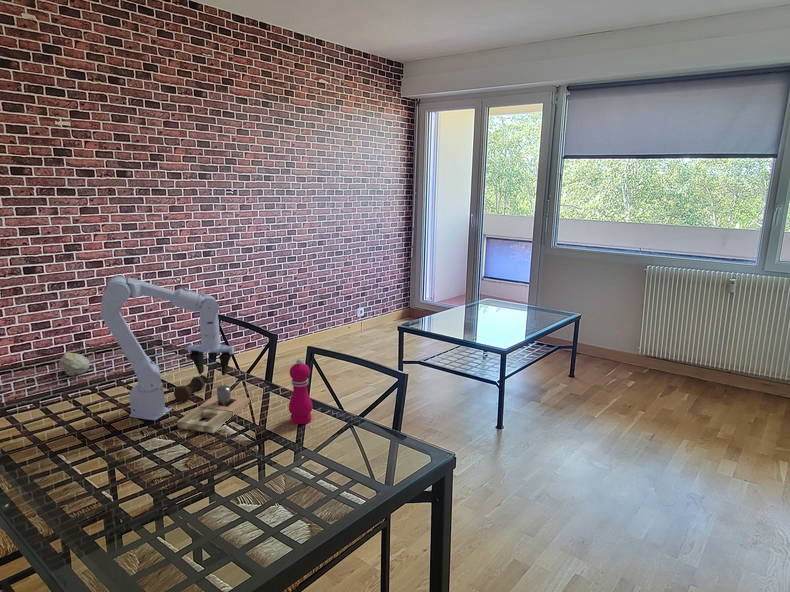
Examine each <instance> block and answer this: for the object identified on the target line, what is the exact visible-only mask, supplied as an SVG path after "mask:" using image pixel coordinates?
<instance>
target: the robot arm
mask: <svg viewBox="0 0 790 592" xmlns="http://www.w3.org/2000/svg"><path fill="white" fill-rule="evenodd" d="M131 295H132V299H136V298H139V297H141V296H147V297H150V298H155V299H160V300H164V301H169V302H171V303H172V305H173V306H174V307H175V308H179V309H183V310H186V311H189V312H190V311H191V312H196V313H197V312H199V333H200V334H199V336H200V344H189V345H187V353H189V358H190V359H191V361H193V363H194V365H195V367H196V370H197V372H198V375H202V374H203V373H204V371H205V369H204V368H205V367H204V354H209V353H211V354H212V353H213V354H214V353H215V354H220V355H219V356H218V358H219V362H220V366H221V368H220V369H221V370H220V371H221V375H222V376H225V375H227V373H228V366H229V362H230V360H231V357H232V355H233V354H234V353H235V346H233V345H226V344H221V337H220V336H221V335H220V321H219V314H218V313H219V311H220V306H219V303H218V301H217V300H216V299H215V297H214V296H212V295H210V294H205V293H204V292H200V293H198V292H194V291H191V290H190V289H189V288H187V287H184V288H178V289H176V290H172V289H169V288H165V287H163V286H159V285H156V284H153V283H150V282H146V281H144V280H142V279H141V280H140V279H137V278H134V277H125V276H123V275H114V276H113V277H111V278H110V279H108V281H107V282H106V284H105V287H104V288H103V292H102V296H101V305H100V311H99V314H100V317H101V319H102V320H103V322H104V323H105V325H106V327H107V328H108V329H109V331H110V333H111V335H112V337H113V338H114V339H115V341H116V342H117V344H118V346H119V347H120V349H121V350H122V352H123V353H124V355H125V356H126V358H127V360H128V361H129V363H130V364H131V366H132V369H133V372H134V374H135V376H136V377H137V384H136V385H135V386H134V387H132V388H131V390H130V392H129V405H130V407H129V408H130V414H129V416H128V417H130V418H135V419H143V420H148V421H156V420H158V419H160V418H161V417H162V416H165V415H166V414H168V413H169V412H171V411H172V410H173V409H172V407H166V403H165V402H166V401H165V392H164V391H165V390H164V383H163V382H162V378H161V374H160V372H161V369H160V366H159V365H158V364H157V363H156V362H153V360H152V359H151V358H150V357H149V356H148V355H147V354H146V352H145V351H144V349H143V348H142V346H141V344H140V342H139V341H138V339H137V338H136V336H135V334H134V333H133V331H132V329H131V328H130V326H129V325H128V323H127V321H126V320H125V318H124V317H123V315H122V313H121V310H122V307H123V305H124V304H125V303H126V302H127V301H128V300H129V299H130V297H131Z"/></svg>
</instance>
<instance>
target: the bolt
mask: <svg viewBox="0 0 790 592" xmlns="http://www.w3.org/2000/svg"><path fill="white" fill-rule="evenodd" d="M208 379H209V378H208V377H207V376H205V375H202V374H200V376H194V377H192V379H191V380H190V383H188V384H186V385H178V386H177V387H176V388H175V390H174V392H173V396H174V398H175V399H176V401H177V402H180V403H181V402H182V403H187V402H188V401H189V400H190V398H191V396H192V395H193V393H195V392H196V391H201V390H203V388H204V386H205V384H207V383H208Z"/></svg>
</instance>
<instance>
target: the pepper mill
mask: <svg viewBox="0 0 790 592" xmlns="http://www.w3.org/2000/svg"><path fill="white" fill-rule="evenodd" d="M310 374H311V370H310V367H309V366H308V365H307V364H306V363H303V359H302V358H298V359H297V360H296V363H294V364H292V366H291V367H290V369H289V375H290V378H291V385H292V389H293V391H292V395H291V398H290V401H289V402H288V403H289V404H288V412H289V413H290V422H291V424H293V423H294V424H293V425H295V424H304V425H308V424H310V422H311V421H312V414H311V412H312V411H313V409H314V407H313V405H314V404H313V401H312V399H311V397H310V395H309V392H308V385H309V377H310Z"/></svg>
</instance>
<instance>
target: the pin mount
mask: <svg viewBox="0 0 790 592" xmlns="http://www.w3.org/2000/svg"><path fill="white" fill-rule="evenodd" d="M231 417H232V412H228V411H221V410H215V409H208V408H201V407H199V406H197V407H195V408H194V409H193V410H192V411H190V412H188V413H187V414H186V415H184V416H183V417H181V418H180V419H179V420H177V421H176V424H177V426H176V427H177V428H179V429H185V430H191V431H197V432H202V433H209V434H215V433H216V432H217V431H219V429H220V428H222V427H223V426H224V425H226V423H225V422H226V421H228V420H229V419H230V418H231ZM203 418H206V419H210V420H208V421H205V420H204V421H203V420H202V419H203ZM232 418H233V417H232ZM230 420H231V419H230ZM230 420H229V421H230ZM229 421H228V422H229ZM223 424H224V425H223ZM222 425H223V426H222ZM221 426H222V427H221Z"/></svg>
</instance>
